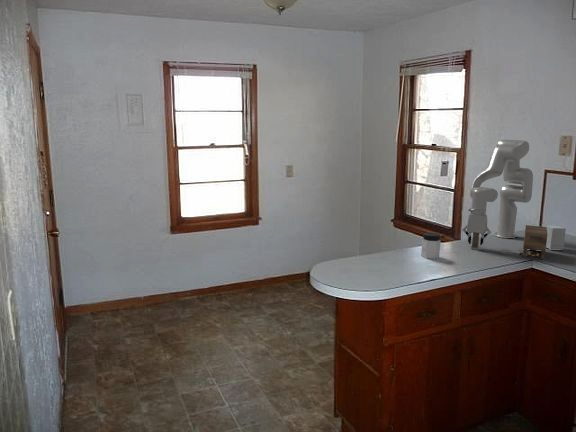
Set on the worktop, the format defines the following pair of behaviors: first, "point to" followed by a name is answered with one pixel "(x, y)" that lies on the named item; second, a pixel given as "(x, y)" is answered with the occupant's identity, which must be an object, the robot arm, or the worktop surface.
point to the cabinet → (535, 239)
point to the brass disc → (533, 253)
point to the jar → (431, 245)
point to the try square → (476, 242)
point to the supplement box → (555, 237)
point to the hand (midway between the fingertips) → (475, 243)
